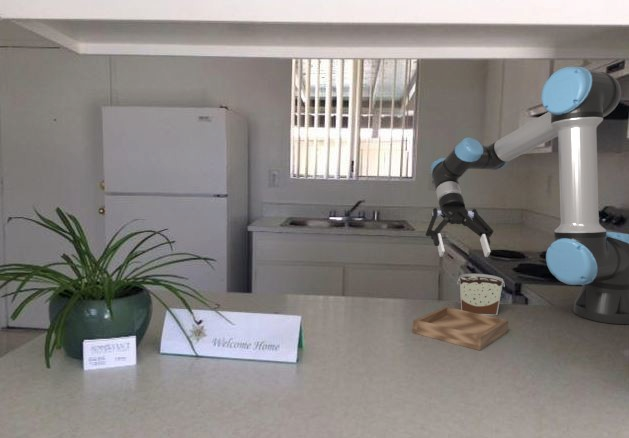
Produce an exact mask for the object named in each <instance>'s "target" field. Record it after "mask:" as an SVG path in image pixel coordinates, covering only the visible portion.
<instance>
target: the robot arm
mask: <svg viewBox="0 0 629 438" xmlns="http://www.w3.org/2000/svg"><path fill="white" fill-rule="evenodd" d="M621 89H622V88H621V85H620V83H619V81H618V80H617V78H616V77H615V76H613V75H611V74H610V73H607V72H603V71H597V70H593V69H588V68H585V67H583V66H566V67H562V68H560V69H558V70H556V71H555V72H553V73H552V74H551V75H550V77H549V78H548V79H547V80H546V81H545V83H544V85H543V87H542V90H541V95H540V96H541V98H540V100H541V104H542V105H543V107H544V109H545V110H546V111H547V112H545V113H544V114H542V115H541V116H538V117H537V118H535V119H533V120H532V121H530V122H528V123H526V124H525V125H523V126H521V127H519V128H517V129H516V130H514V131H512V132H511V133H508V134H507V135H505V136H503V137H501V138H500V139H498V140H497V141H494V142H493V143H491V144H488V145H482V144H481V143H480V141H478V140H477V139H474V138H472V137H465V138H464V139H462V140H461V141H460V142H459V143H458V144H457V145H456V146H455V148H453V150H452V151H451V152H450V153H449V154H448V155H447V156H446V157H441V158H438V159H437V160H435V161H433V162H432V163H431V166H430V172H431V178H432V181H433V185H434V189H435V192H436V197H437V201H438V205H439V209H440V210H438V209H437V208H436V207H434V208H433V209H432V211H431V220H430V223H429V225H428V227H427V230H426V232H425V236H426V237H430V238H431V240H432V242H433V245H434V246H435V247H437V250H438V254H439V258H442V257H444V254H445V252H446V251H445V246H444V243H443V239H442V238H443V237H442V235H441V231H442V230H443V229H444V228H445V227H446V226H447V225H448V223H449V224H451V225H455V224H456V225H462V226H464V227H467V228H468V229H470V230H471V231H472V232H474V233H475V234H476V235H478V236H479V242H480V244H481V248H482V252H483V255H484V258H488V257H489V256H490V254H491V253H492V252H491V248H490V245H491V240H490V238H491V237H492V235H493V234H494V229H493V228H491V226H490V225H489V224H488V223H487V222H486V221H485V220H484V219H483V218H482V217H481V215H479V212H478V211H477V209H476V208H473V209H471V210H467V209H466V204H465V200H464V197H463V195H462V194H463V193H462V190H461V187H460V184H459V179H460V178H461V177H462V176H463V175H464V174H465V173H466V172H467V171H468V170H490V171H496V170H502V169H503V168H505V167H506V166H507V165H508V163H509V162H510V161H512V160H514V159H516V158H517V157H519V156H521V155H524V154H525V153H527V152H530V151H531V150H534V149H535V148H538V147H539V146H541V145H543V144H545V143H547V142H549V141H551V140H553V139H555V138H558V139H557V142H558V143H557V145H558V147H557V148H558V174H559V177H558V178H559V203H560V204H559V206H560V207H559V209H560V213H559V214H560V224H559V226H558V227H556V229H554V234H553V235H554V241H553V242H552V243H551V244H550V246H549V247H548V248H547V250H546V252H545V260H546V265H547V268H548V270H549V272H550V273H551V274H552V276H554V277H555V278H556V279H557V280H558V281H560V282H562V283H564V284H566V285H570V286H571V285H573V286H576V285H577V286H579V285H580V286H581V288H580V290H579V292H578V295H577V297H576V298H575V301H574V304H573V311H572V312H573V313H574V314H576V316H578V317H580V318H584V319H587V320H591V321H594V322H600V323H605V324H606V323H607V324H616V325H629V234H628V233H622V232H614V231H607V230H606V228H604V227H603V226H602V225H601V223H600V218H599V217H600V215H599V214H600V213H599V186H598V185H599V181H598V173H599V172H598V145H597V144H598V143H597V139H598V137H597V134H598V133H597V128H598V127H599V125H600V124H602V122H603V120H604V117H607V116H608V115H609V114H610V113H612V112H613V111H614V110H615V109H616V107H617V106H618V104H619V103H620V100H621V96H622V90H621ZM439 216H441V217H442V218H443V219H442V220H441V222H440V223H439V224H438V225H437V226H436V228H435V229H434V230H433V228H434V225H435V224H436V223H435V222H436V220H437V218H438V217H439ZM439 218H440V217H439Z"/></svg>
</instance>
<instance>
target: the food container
mask: <svg viewBox="0 0 629 438" xmlns="http://www.w3.org/2000/svg"><path fill="white" fill-rule="evenodd" d="M457 279H458V280H457V282H456V285H459V301H460V310H463V311H468V312H472V313H477V314H482V315H486V316H493V315H497V316H498V312H499V308H500V307H499V306H500V301H501V297H502V296H501V295H502V290H503V287H504V288H505V286H506V285H505V281H504V279H503V278H501V277H499V276H496V275H491V274H484V273H464V274H460V275H459V277H458V278H457Z"/></svg>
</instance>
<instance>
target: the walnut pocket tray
mask: <svg viewBox="0 0 629 438" xmlns="http://www.w3.org/2000/svg"><path fill="white" fill-rule="evenodd" d="M412 323H413V324H412V334H417V335H420V336H423V337H427V338H431V339H435V340H439V341H442V342H446V343H450V344H454V345H457V346H462V347H465V348H469V349H472V350H477V351H482V350H483V349H485V348H486V347H488V346H489V345H491V344H493V343H494V342H495V341H497V340H498V339H500V338H501V337H503V336H504V334H505V335H506V334H507V332H508V331H509V319H504V318H499V317H496V316H492V315H482V314H477V313H472V312H468V311H463V310H461V309H458V308H453V307H449V306H444V307H441V308H438V309H436V310H433V311H432V312H429V313H427V314H425V315H423V316H420V317H418V318H416V319H414V320H412ZM508 333H509V332H508Z"/></svg>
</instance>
